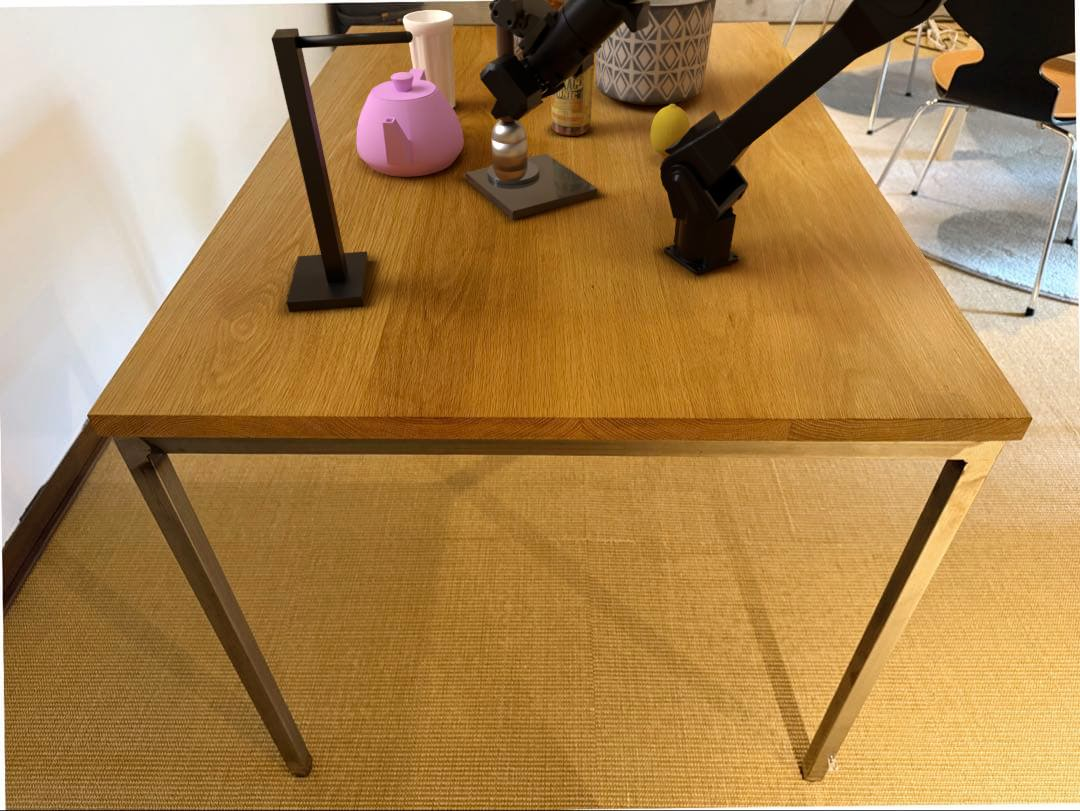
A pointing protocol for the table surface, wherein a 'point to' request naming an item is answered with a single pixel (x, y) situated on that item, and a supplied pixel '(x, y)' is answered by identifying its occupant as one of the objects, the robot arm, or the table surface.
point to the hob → (533, 187)
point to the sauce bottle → (573, 105)
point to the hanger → (320, 178)
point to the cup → (433, 48)
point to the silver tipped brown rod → (508, 130)
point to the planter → (658, 55)
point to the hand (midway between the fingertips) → (498, 112)
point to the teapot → (408, 127)
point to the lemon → (668, 128)
